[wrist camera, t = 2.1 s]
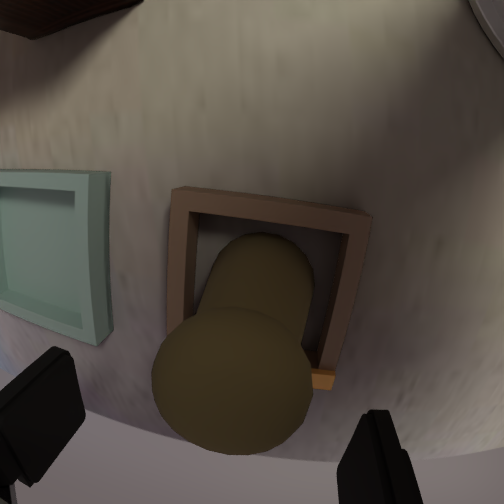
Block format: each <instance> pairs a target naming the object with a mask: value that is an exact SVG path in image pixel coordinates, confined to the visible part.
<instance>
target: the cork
mask: <svg viewBox="0 0 504 504" xmlns="http://www.w3.org/2000/svg"><path fill="white" fill-rule="evenodd" d="M314 287H315V282H314V273H313V268H312V266H311V264H310V262H309V260H308V258H307V256H306V254H305V253H304V252H303V251H302V250H301V249H300V248H299V247H298V246H297V245H296V244H295V243H294V242H292V241H290V240H288V239H286V238H284V237H282V236H280V235H277V234H271V233H265V232H258V233H251V234H245V235H243V236H241V237H239V238H237V239H235V240H233V241H231V242H230V243H229V244H228V245H227V246H226V247H225V248H224V249H223V250H222V251H221V252H220V253H219V255H218V257H217V259H216V261H215V263H214V265H213V267H212V270H211V273H210V276H209V279H208V281H207V284H206V287H205V290H204V293H203V296H202V299H201V301H200V304H199V307H198V310H197V313H196V315H194V316H191V317H190V318H188V319H186V320H184V321H183V322H182V323H181V324H179V325H178V326H177V327H176V328H175V329H174V330H173V331H172V332H171V333H170V334H169V335H168V336H167V337H166V339H165V340H164V341H163V343H162V344H161V346H160V349H159V351H158V353H157V356H156V358H155V361H154V364H153V368H152V372H151V373H152V392H153V396H154V400H155V402H156V405H157V407H158V409H159V412H160V414H161V416H162V417H163V419H164V420H165V421H166V422H167V423H168V425H169V426H170V427H171V428H172V429H173V430H174V431H175V432H176V433H178V434H179V435H181V436H182V437H183V438H185V439H186V440H187V441H189V442H191V443H193V444H195V445H197V446H200V447H202V448H204V449H206V450H209V451H214V452H218V453H223V454H227V455H251V454H256V453H261V452H266V451H268V450H270V449H272V448H274V447H276V446H278V445H280V444H282V443H283V442H285V441H286V440H287V439H288V438H289V437H290V436H291V435H292V434H293V433H294V432H295V431H296V430H297V429H298V428H299V427H300V426H301V425H302V423H303V421H304V419H305V416H306V413H307V411H308V408H309V405H310V402H311V400H312V397H313V384H312V373H311V364H310V362H309V360H308V358H307V356H306V354H305V352H304V350H303V349H302V347H301V341H302V337H303V333H304V329H305V325H306V321H307V317H308V313H309V308H310V304H311V300H312V295H313V291H314Z"/></svg>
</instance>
